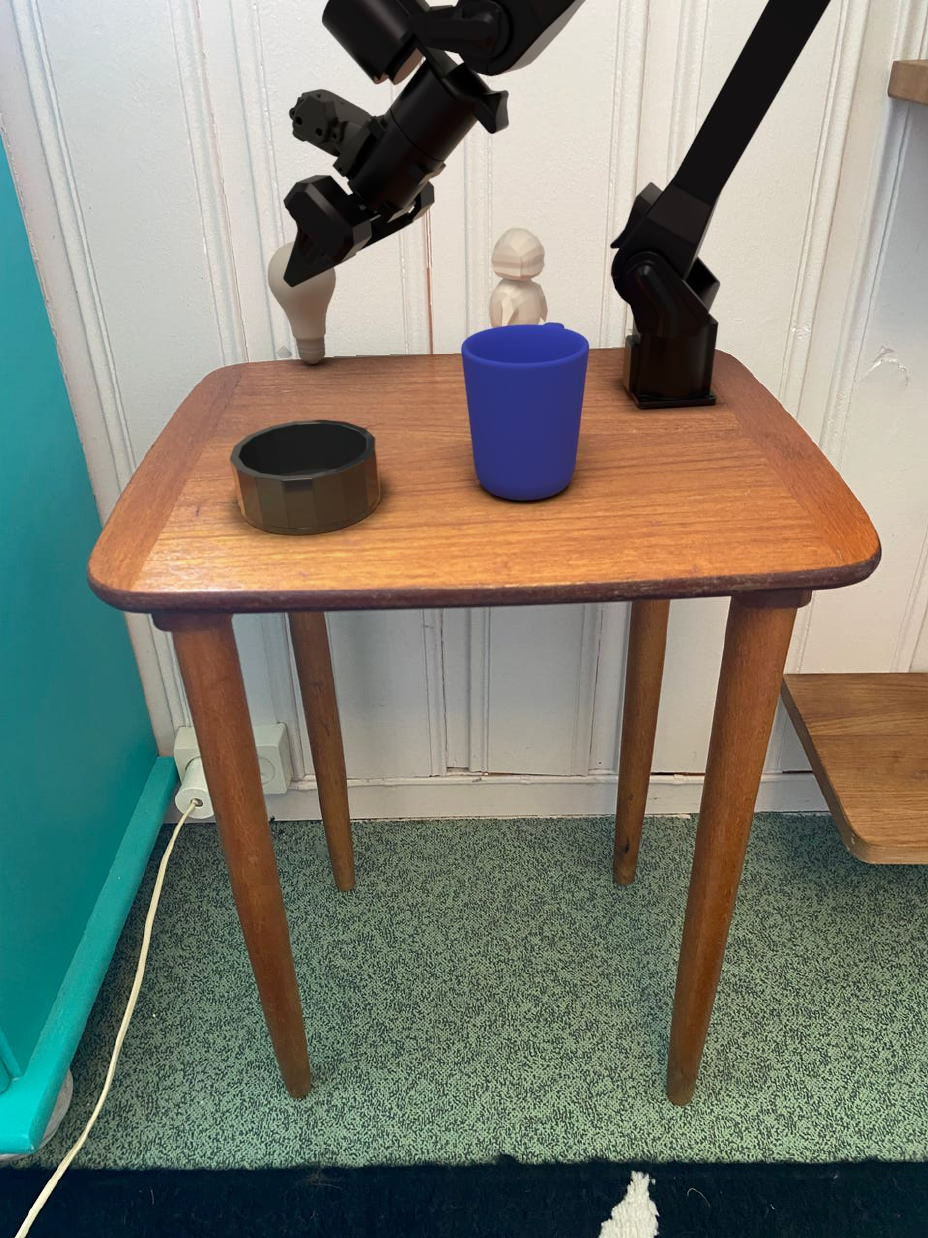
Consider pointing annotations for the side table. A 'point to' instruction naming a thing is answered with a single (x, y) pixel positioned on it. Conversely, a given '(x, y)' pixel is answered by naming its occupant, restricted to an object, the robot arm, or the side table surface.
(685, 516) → the side table surface
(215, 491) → the side table surface
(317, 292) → the lightbulb
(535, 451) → the mug
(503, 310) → the figurine
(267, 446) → the bowl
